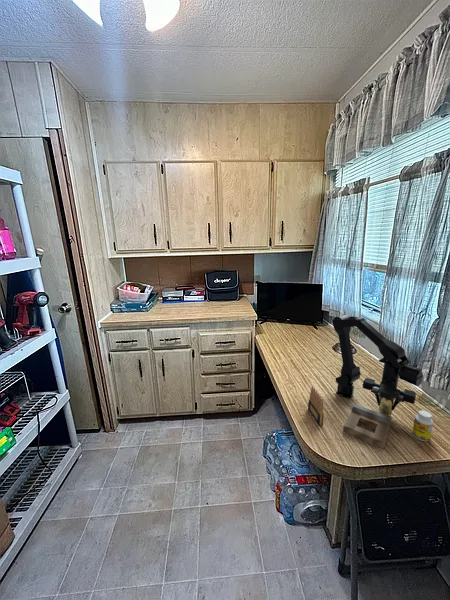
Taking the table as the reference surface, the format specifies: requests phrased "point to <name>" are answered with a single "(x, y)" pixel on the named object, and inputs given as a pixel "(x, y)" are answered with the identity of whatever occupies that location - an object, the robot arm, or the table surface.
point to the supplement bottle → (422, 426)
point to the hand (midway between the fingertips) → (385, 407)
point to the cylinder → (385, 406)
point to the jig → (368, 425)
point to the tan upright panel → (316, 406)
